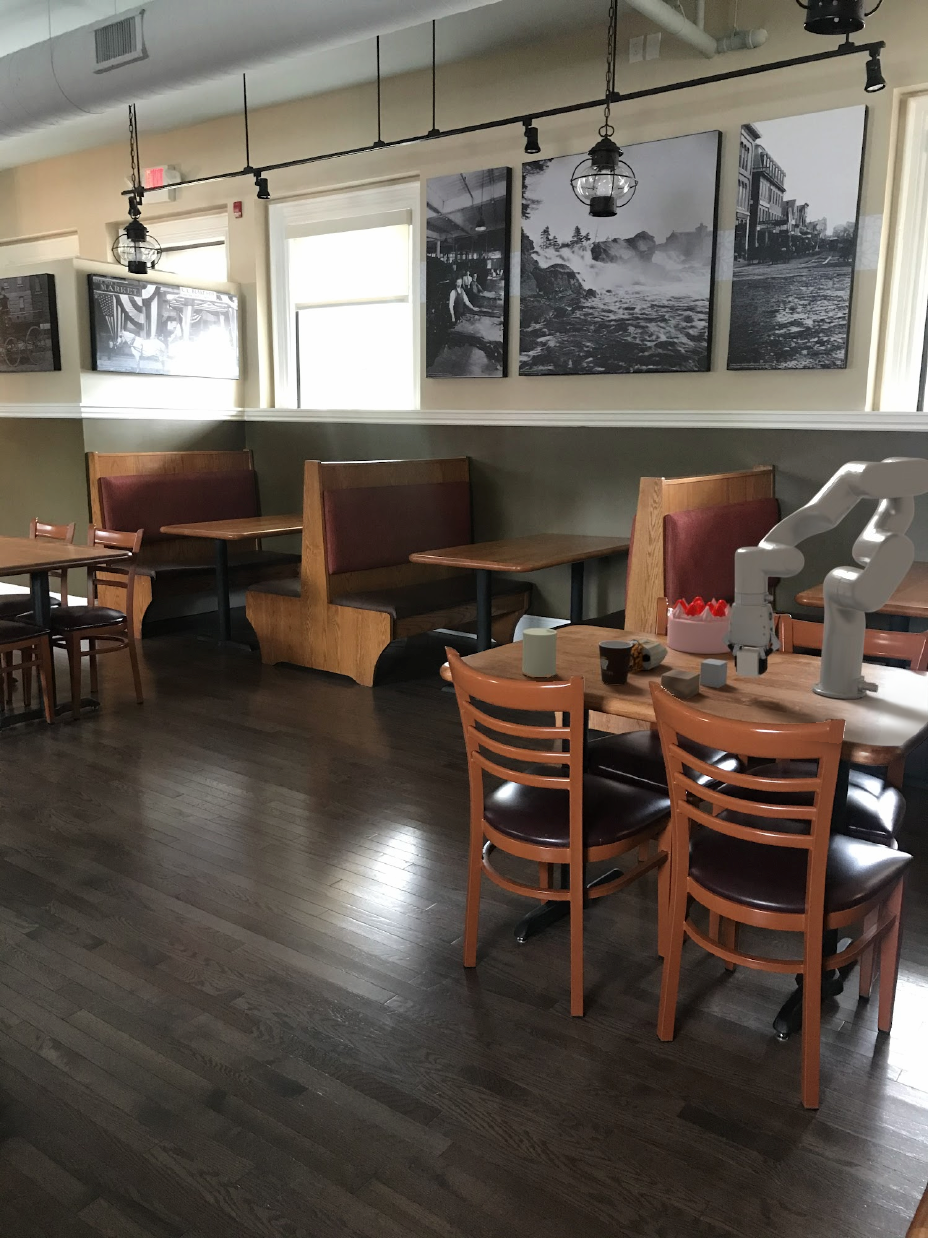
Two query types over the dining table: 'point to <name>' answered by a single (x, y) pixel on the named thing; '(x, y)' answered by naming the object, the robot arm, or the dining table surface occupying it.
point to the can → (539, 651)
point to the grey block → (713, 673)
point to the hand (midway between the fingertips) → (750, 671)
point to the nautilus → (647, 653)
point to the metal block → (681, 683)
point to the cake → (699, 626)
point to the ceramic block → (748, 662)
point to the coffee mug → (615, 661)
